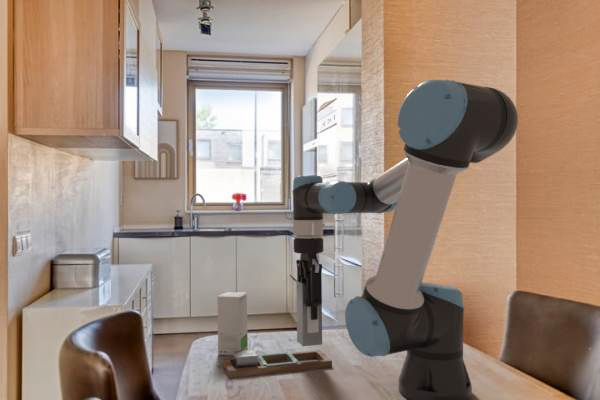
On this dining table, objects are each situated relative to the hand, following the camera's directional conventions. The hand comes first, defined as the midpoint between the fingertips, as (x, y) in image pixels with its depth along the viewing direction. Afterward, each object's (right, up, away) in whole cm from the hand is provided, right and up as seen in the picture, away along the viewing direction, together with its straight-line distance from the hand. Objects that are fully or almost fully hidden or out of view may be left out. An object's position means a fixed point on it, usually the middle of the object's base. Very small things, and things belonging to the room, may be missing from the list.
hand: (309, 329), depth 125 cm
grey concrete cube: (-16, -9, -4) cm, 18 cm away
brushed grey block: (0, -3, 0) cm, 3 cm away
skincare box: (-21, -9, +10) cm, 25 cm away
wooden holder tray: (-8, -9, -2) cm, 12 cm away
